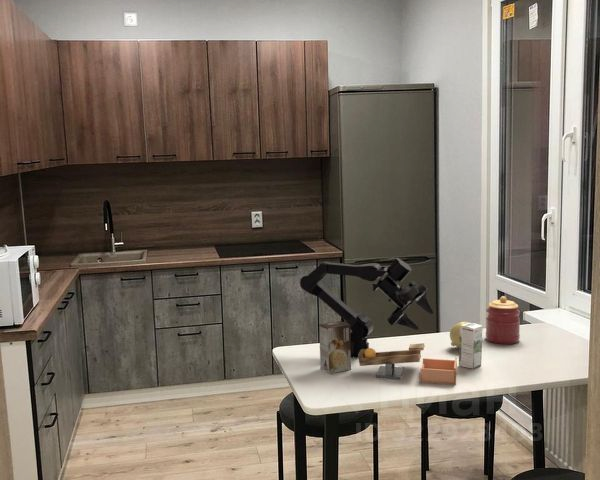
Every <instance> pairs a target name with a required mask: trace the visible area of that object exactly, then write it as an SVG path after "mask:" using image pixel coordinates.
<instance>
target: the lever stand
mask: <svg viewBox="0 0 600 480" xmlns="http://www.w3.org/2000/svg"><path fill="white" fill-rule="evenodd" d="M395 365H396V364H392V363H385V364H384V365H379V368H378V370H377V372H376V375H375V379H380V380H381V379H382V380H383V379H385V380H395V381H401V379H402V376H403V374H404V368H405V367H403V366H402V367H401V366H395Z"/></svg>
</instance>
